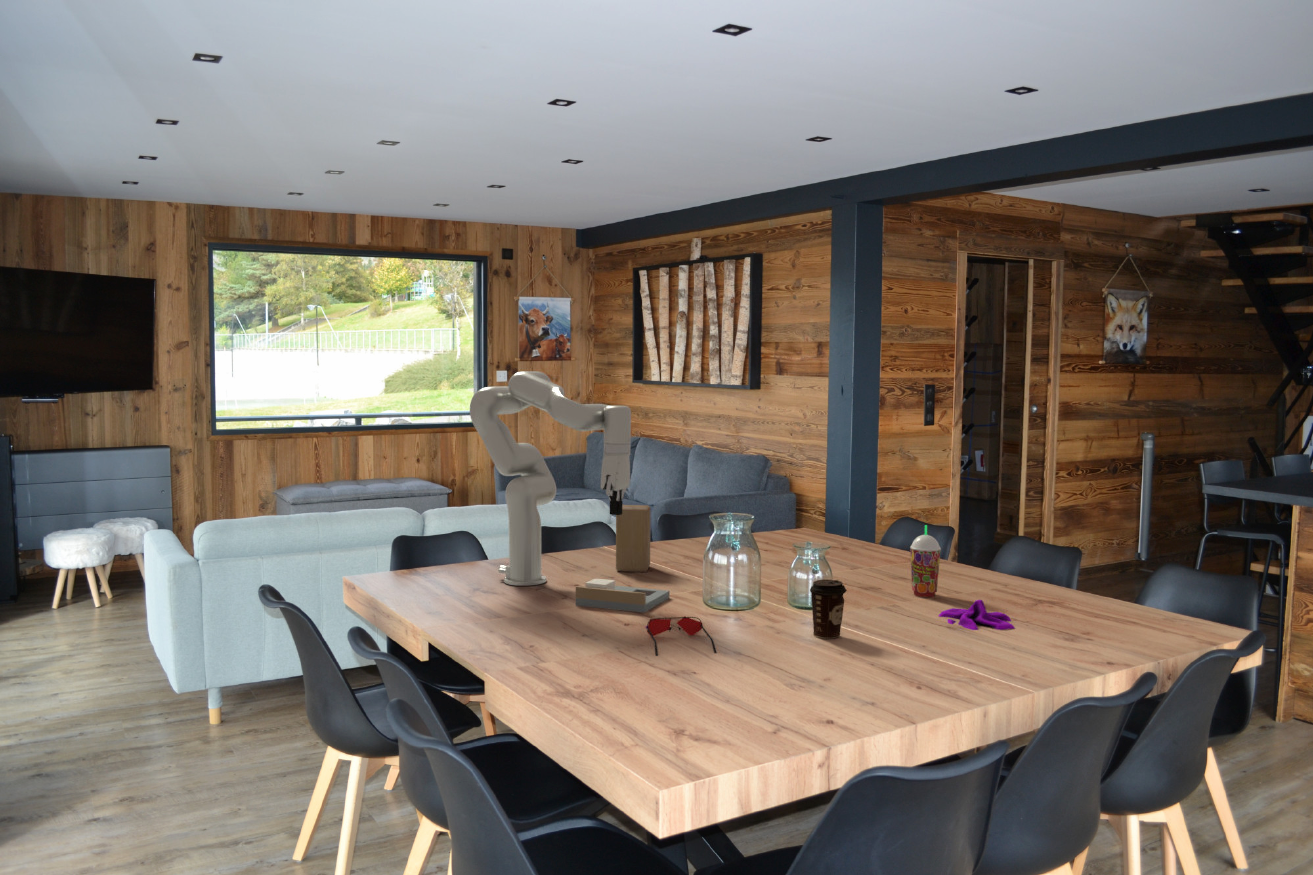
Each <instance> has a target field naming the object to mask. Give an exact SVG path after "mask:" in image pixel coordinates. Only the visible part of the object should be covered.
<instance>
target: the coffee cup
mask: <svg viewBox="0 0 1313 875" xmlns="http://www.w3.org/2000/svg"><path fill="white" fill-rule="evenodd" d="M809 591H810V593H811V607H812V609H811V610H812V623H813V624H812V626H813V634H812V635H813V636H814V637H816V638H819V639H828V640H829V639H836V638H840V636H841V628H842V623H843V614H844V606H845V598H844V594H846V592H847V589H846V587H845V585H843V582H842V581H840V580H838V579H825V578H823V579H818V580H815V581H813V584H812V586H811V587H810V589H809Z"/></svg>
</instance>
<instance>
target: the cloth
mask: <svg viewBox="0 0 1313 875" xmlns="http://www.w3.org/2000/svg"><path fill="white" fill-rule="evenodd" d="M938 617H940V618H948V619H947V624H949V625H954V624H956V623H957V621H956V620H959V621H958V623H957V624H958V626H961V627H963V628H965V629H968V630H971V631H979V628H978V626H979V625H980V626H985V627H988V628H993V629H994V630H998V631H1002V630H1013V629H1016V627H1015V626H1014V625H1013V624H1012V623H1011V622H1012V619H1011V617H1010V616H1009V615H1007V614H1006V613H1003V612H999V611H993V612H987V610H986V606H985V603H984V601H983V600H982V599H976V600H975V601H974V602H973V603H972V605H970V607H969V608H968V609H967V608H966V609H965V608H957V607H956V608H948V609H946V610H942V611H941V612H940V613H939V614H938Z"/></svg>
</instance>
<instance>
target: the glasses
mask: <svg viewBox="0 0 1313 875" xmlns="http://www.w3.org/2000/svg"><path fill="white" fill-rule="evenodd" d="M672 619H679V620H678V621H676V625H677V626H678V630H679V631H681V629H682V630H683V632H685V633H686V634H687V635H688V636H694V635H696V634H697V633H699V632H701V631H702V630H703V632H704V634H706V636H707V637H708V638H709V640H710V642H711V645H712V650H713V653H714V654H717V653H718V652H717V649H716V648H717V647H716V645H715V641H714V639H713V638H712V636H711V635H710V634H709V632H708V631H707V630H706V629H705V628H704V626H703V622H702V620H701V619H700V618H699V617H696V616H680V617H679V616H678V617H674V616H673V617H666V616H664V617H656V618H650V619H649V620H648V622H647V625H645V629H646V632H647V634H648V635H649V636H650V638H651V639H652V641H653V644H654V653H655V656H656V657H657V656H658V655H659V653H658V642H657V640H656V639H655V636H658V635H660V634H662V633H666V632H667V631H668V632H671V630H672V628H673V627H672V626H671V624H672V623H671V622H672ZM698 620H699V621H698Z"/></svg>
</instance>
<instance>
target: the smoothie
mask: <svg viewBox="0 0 1313 875" xmlns="http://www.w3.org/2000/svg"><path fill="white" fill-rule="evenodd" d="M909 548H910V566H911V567H910V568H911V570H910V572H911V591H913V596H916V597H919V598H933V597H935V595H936V593H937V591H938V584H939V571H940V561H941V550H942V549H941V546H940V543H939V542H938V540H937V539H936V538H935V537H933V536H932V535H929V534H928V525H927V524H926V525H925V524H924V534H921V535H918V536H917V537H915V539H913V541H912V544H911V545H910V547H909Z"/></svg>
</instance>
